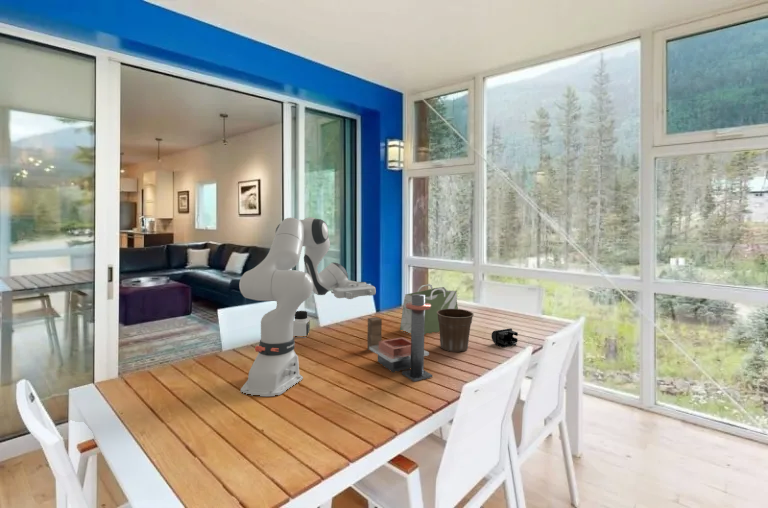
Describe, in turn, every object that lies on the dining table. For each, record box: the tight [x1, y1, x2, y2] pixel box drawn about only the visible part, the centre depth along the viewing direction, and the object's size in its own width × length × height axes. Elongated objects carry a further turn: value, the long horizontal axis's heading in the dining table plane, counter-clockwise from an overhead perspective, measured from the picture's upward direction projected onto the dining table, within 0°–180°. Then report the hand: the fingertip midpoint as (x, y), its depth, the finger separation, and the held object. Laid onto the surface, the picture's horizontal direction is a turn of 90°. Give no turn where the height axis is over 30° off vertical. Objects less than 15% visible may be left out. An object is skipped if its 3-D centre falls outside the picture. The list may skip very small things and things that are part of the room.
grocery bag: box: [399, 283, 459, 335], centre depth 211 cm, size 32×14×23 cm, turn 125°
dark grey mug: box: [490, 328, 519, 348], centre depth 186 cm, size 10×7×7 cm
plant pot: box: [437, 308, 474, 353], centre depth 179 cm, size 16×16×16 cm
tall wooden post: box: [366, 316, 383, 353], centre depth 175 cm, size 4×4×14 cm
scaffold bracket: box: [369, 294, 433, 382], centre depth 153 cm, size 26×17×30 cm, turn 30°
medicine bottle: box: [293, 310, 311, 337], centre depth 196 cm, size 7×7×12 cm
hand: (362, 294), depth 185 cm, fingers open, 8 cm apart
